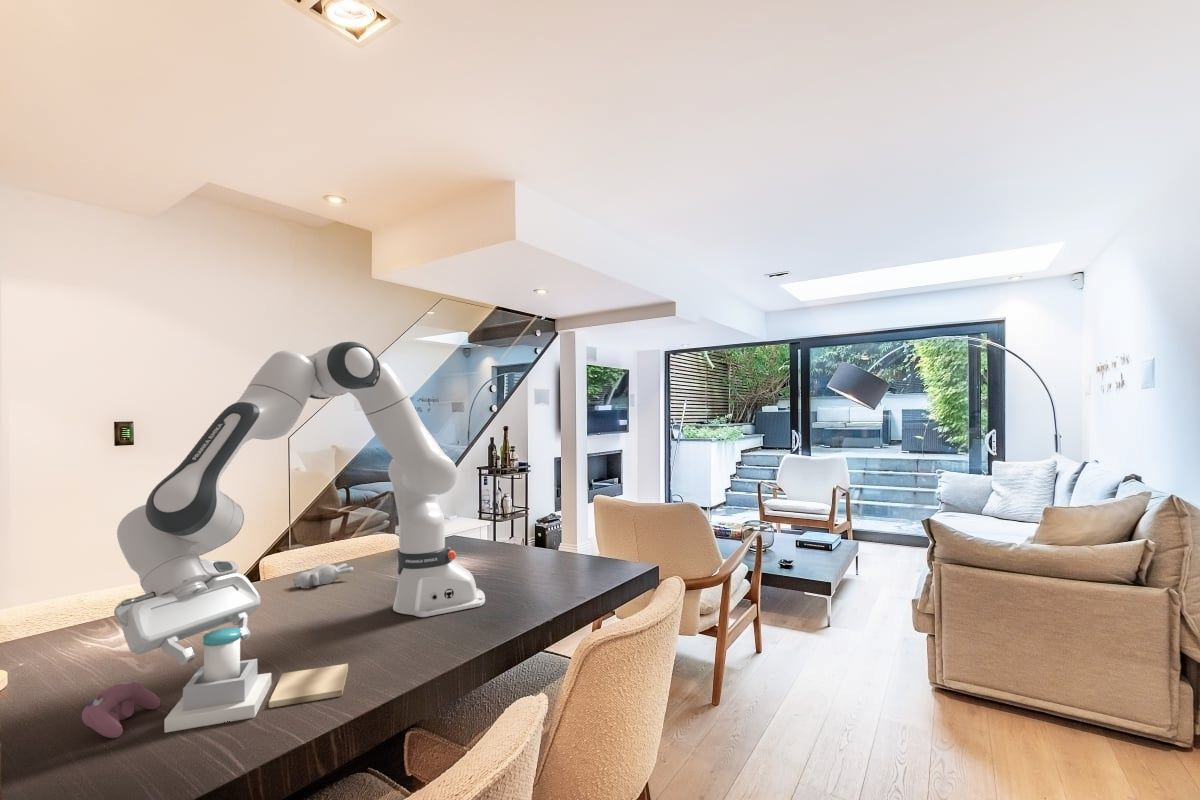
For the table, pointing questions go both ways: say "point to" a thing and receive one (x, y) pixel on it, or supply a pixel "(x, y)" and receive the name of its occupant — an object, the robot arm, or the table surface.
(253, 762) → the table surface
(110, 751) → the table surface
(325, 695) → the pad
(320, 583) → the bunny figurine
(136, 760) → the table surface
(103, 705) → the video game controller
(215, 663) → the cylinder
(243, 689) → the housing
